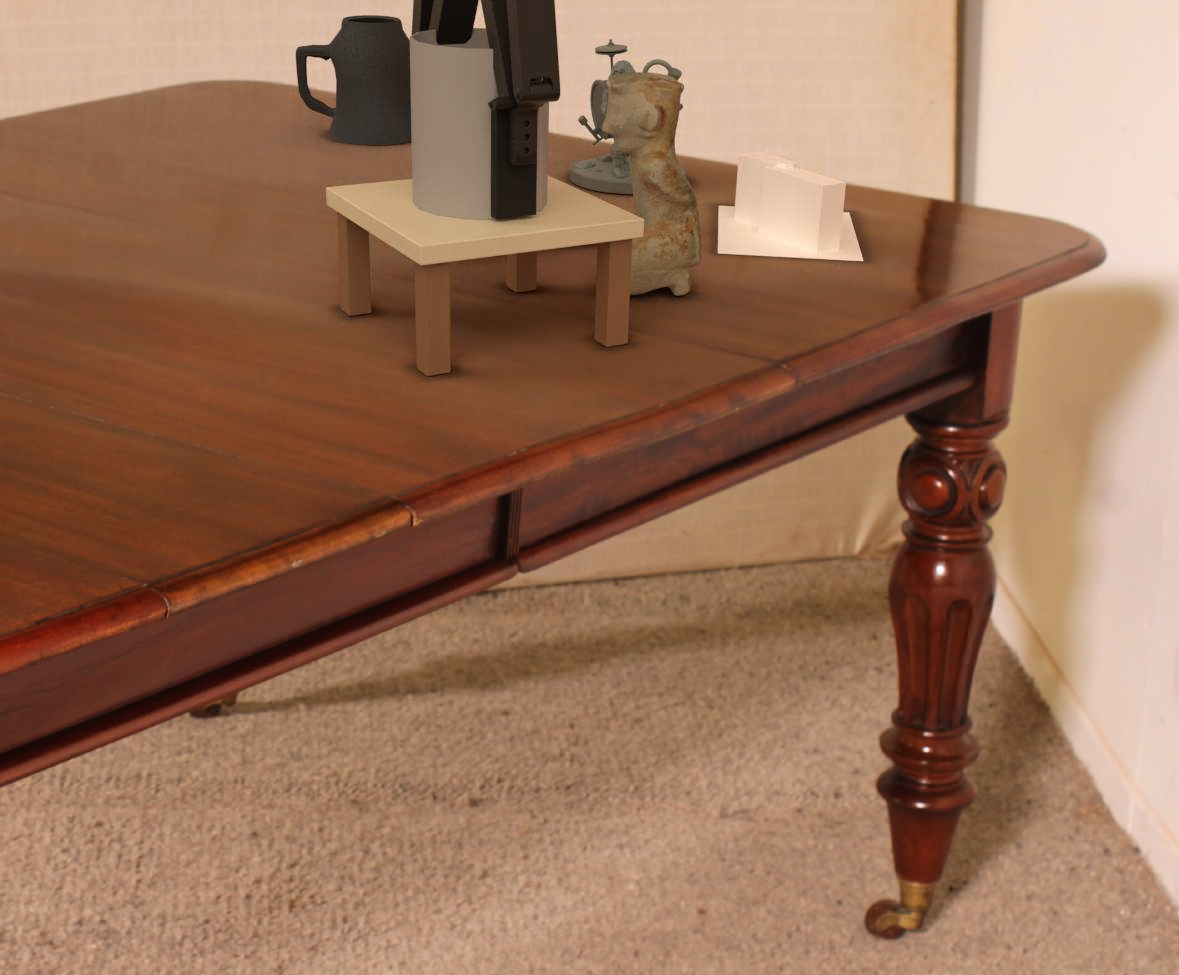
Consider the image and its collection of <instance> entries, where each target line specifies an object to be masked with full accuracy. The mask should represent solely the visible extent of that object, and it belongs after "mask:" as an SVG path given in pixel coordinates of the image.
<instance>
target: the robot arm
mask: <svg viewBox="0 0 1179 975" xmlns="http://www.w3.org/2000/svg"><path fill="white" fill-rule="evenodd" d="M479 1H480V4H481V10H482V14H483V21H484V25H485V26H484V27H485V28H486V32H487V37H488V43H489V48H490V49H493V70H494V75H495V81H496V86H497V92H498V97H496V99H493V100H491V101H490V102H488V106H489V108H490V110H491V217H493V218H495V219H504V218H512V217H521V216H530V215H536V194H537V128H538V110H539V107H542V106H543V105H544V104H545V103H547V102H549V103H552V102H554V103H555V102H558V101H559V100H560V97H561V78H560V65H559V62H560V61H559V48H558V30H557V18H556V17H557V16H556V2H555V1H556V0H413V3H412V19H411V20H412V21H411V36H412V35H414V34H415V33H417V32H423V31H429V30H436V42H437V43H438V45H451V44H466V43H467V42H468V41H469V40H470V39H471V37H472V32H473V28H475V22H476V17H477V11H478V6H479ZM542 78H543V81H542Z"/></svg>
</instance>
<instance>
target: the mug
mask: <svg viewBox="0 0 1179 975" xmlns="http://www.w3.org/2000/svg"><path fill="white" fill-rule="evenodd" d="M340 26H341V27H340V28H339V30H338V32H337V33H336V34H335V36H334V37H333V38H332V40H331V41H330V42H329V43H328V44H309V45H300V46H298V47H297V48H296V50H295V67H296V79H297V88H298V93H299V96H300V99H301V100H302V102H303V103H304V105H305V106H306V107H307V108H308V109H309V110H311V111H313V112H316V113H320V114H322V115H324V116H326V117H329V118H331V119H332V120H331V125H330V129H329V138H331V139H333V141H337V142H341V143H345V144H352V145H359V146H360V145H361V146H363V145H364V146H389V145H400V144H405V143H406V144H407V143H412V136H411V83H410V37H408V35H407V34H406V32H405V30H404V28H403V23H402V20H401V19H400V18H399V17H396V16H390V15H378V14H377V15H376V14H375V15H373V14H369V15H368V14H367V15H366V14H364V15H363V14H362V15H361V14H360V15H350V16H346V17H343V18H342V20H341V24H340ZM308 57H311V58H316V59H317V58H318V59H322V60H323V61H328V60H330V61H331V64H332V66H333V68H334V73H335V74H334V75H335V81H336V82H335V84H336V85H335V87H336V88H335V107H334V108H332V107H330V106H328V105H327V104H326V103H325V102H323V101H321V100H320V99H317V98H316V97H314V96H312V92H311V90H310V88H309V83H308V70H307V66H308V65H307V64H308V63H307V60H308Z"/></svg>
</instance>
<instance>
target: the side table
mask: <svg viewBox="0 0 1179 975" xmlns="http://www.w3.org/2000/svg"><path fill="white" fill-rule="evenodd" d="M325 194H326V195H325V200H326V206H327V207H328V208H331V209H333V210H334V211H335V212H336V221H337V248H338V269H339V291H340V292H339V293H340V294H339V295H340V296H339V297H340V310H341V311H342V312H344V313H345V314H346V315H348V316H349V317H353V316H360V315H366V314H372V284H371V256H370V254H371V253H370V252H371V251H370V250H371V249H370V234H371V235H372V236H374V237H376V238H377V239H379V240H380V241H382V243H383V242H384V243H385V244H387V245H388V246H389V247H391V248H393V249H394V250H396V251H398V252H399V253H400V254H402V255H404V256H405V257H407V258H408V259H410V260H411V261H413V262H414V304H415V346H416V347H415V353H416V354H415V356H416V357H415V358H416V359H415V362H416V369H417V370H418V371H419V372H420V373H421V374H423V375H425V377H431V376H433V377H434V376H438V375H443V374H450V373H451V372H452V355H451V353H452V352H451V351H452V350H451V344H452V343H451V263H453V262H461V261H469V260H476V259H484V258H485V259H486V258H491V257H492V258H494V257H500V256H501V257H502V256H506V287H507V288H508V289H510V290H512V291H514V292H515V293H523V292H529V291H530V292H531V291H536V290H537V277H538V276H537V275H538V274H537V272H538V268H537V267H538V252H540V251H548V250H549V251H550V250H555V249H564V248H572V247H580V246H586V245H595V244H596V245H597V246H596V247H597V249H596V264H597V268H596V273H595V274H596V276H595V277H596V278H595V303H594V304H595V306H594V331H593V332H594V333H593V340H594V341H596V342H597V343H599V344H601V345H602V346H604V347H606V348H609V347H615V346H622V345H628V343H629V323H630V322H629V321H630V305H631V304H630V303H631V302H630V299H631V295H630V281H631V258H632V239H635V238H642V237H643V234H644V219H643V218H641V217H638V216H636V215H635V213H632V212H630V211H627V210H625V209H623V208H621V207H618V206H617V205H614V204H612V203H610V202H607V201H605V200H603V199H601V198H599V197H597V196H594V195H592V194H591V193H588V192H585V191H583V190H581V189H579V188H577V187H574V186H573V185H570V184H568V183H566V182H564V181H562V180H559V179H557V178H555V177H552V176H551V175H548V185H547V204H546V205H545V207H544V208H543V209H542V210H541V211H538V212H536V215H530V216H522V217H513V218H505V219H461V218H454V217H446V216H439V215H435V214H432V213H429V212H426V211H423V210H420V209H418V208H417V206H416V205H415V204H414V202H413V190H412V178H409V179H408V178H406V179H399V180H398V179H397V180H386V181H377V182H366V183H356V184H345V185H335V186H327V187H325Z"/></svg>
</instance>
